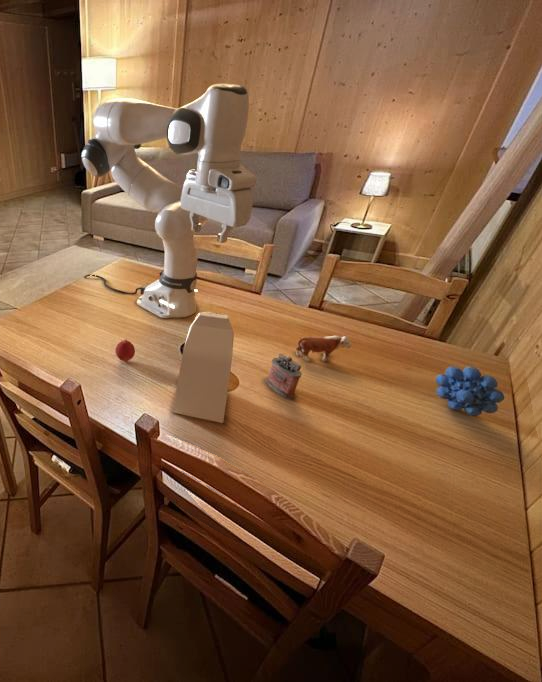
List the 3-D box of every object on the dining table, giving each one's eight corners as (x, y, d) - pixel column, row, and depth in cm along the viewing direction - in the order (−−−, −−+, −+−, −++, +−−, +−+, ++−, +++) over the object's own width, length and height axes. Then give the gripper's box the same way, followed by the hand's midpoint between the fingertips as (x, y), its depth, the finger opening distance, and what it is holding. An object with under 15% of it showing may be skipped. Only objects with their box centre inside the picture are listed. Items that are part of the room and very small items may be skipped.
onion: (111, 361, 109) (111, 340, 105) (123, 352, 112) (123, 331, 108) (127, 369, 106) (127, 347, 101) (138, 359, 109) (139, 338, 104)
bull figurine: (346, 364, 101) (356, 340, 97) (294, 361, 104) (302, 337, 99) (340, 355, 105) (350, 332, 100) (290, 352, 107) (297, 329, 103)
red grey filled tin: (262, 381, 97) (271, 352, 92) (272, 378, 98) (281, 348, 93) (287, 400, 91) (297, 369, 86) (297, 396, 92) (308, 365, 87)
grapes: (418, 405, 87) (442, 367, 80) (426, 392, 90) (450, 354, 84) (483, 432, 79) (516, 392, 73) (489, 416, 83) (521, 377, 76)
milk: (172, 412, 90) (181, 325, 76) (179, 383, 99) (189, 300, 84) (222, 423, 86) (242, 333, 72) (225, 392, 95) (243, 306, 80)
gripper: (176, 169, 86) (172, 227, 93) (238, 183, 70) (226, 251, 78) (198, 166, 87) (192, 223, 95) (263, 179, 72) (249, 246, 80)
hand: (208, 236), depth 86 cm, fingers open, 8 cm apart
